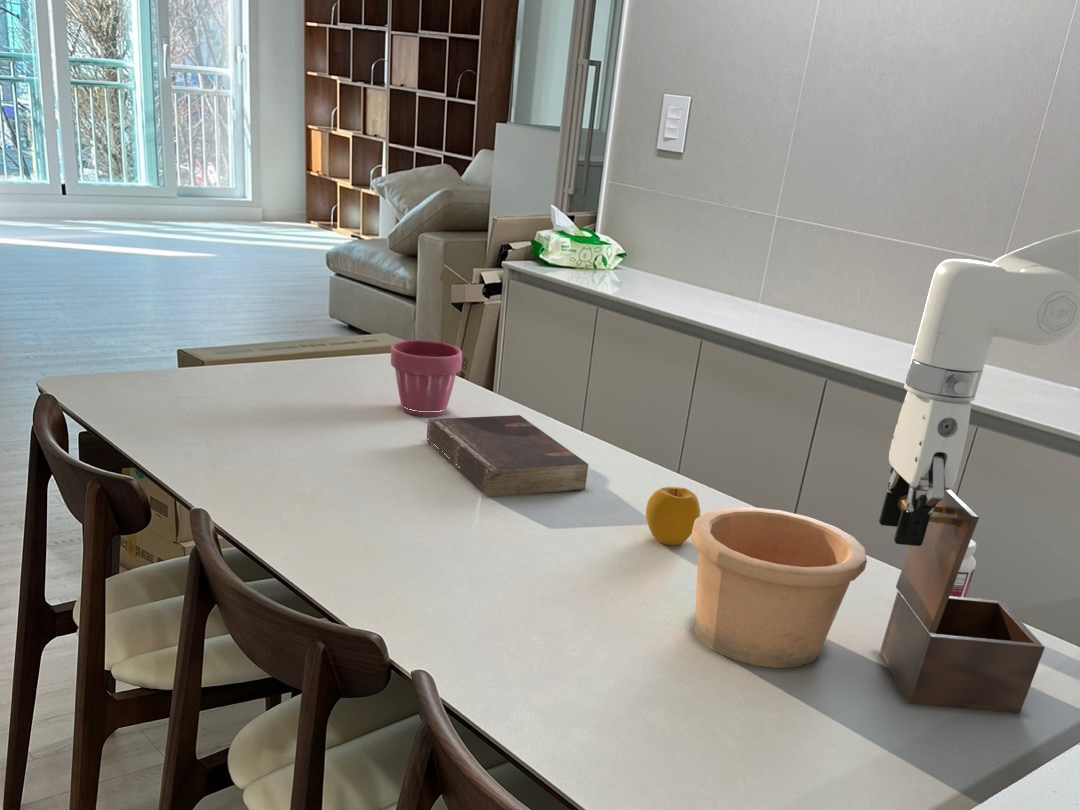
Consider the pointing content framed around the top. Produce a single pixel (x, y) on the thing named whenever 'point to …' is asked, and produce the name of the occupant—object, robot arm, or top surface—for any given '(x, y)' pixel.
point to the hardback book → (506, 455)
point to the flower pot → (425, 374)
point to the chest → (962, 656)
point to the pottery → (770, 583)
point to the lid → (936, 559)
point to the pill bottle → (965, 572)
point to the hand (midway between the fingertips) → (899, 533)
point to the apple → (672, 514)
